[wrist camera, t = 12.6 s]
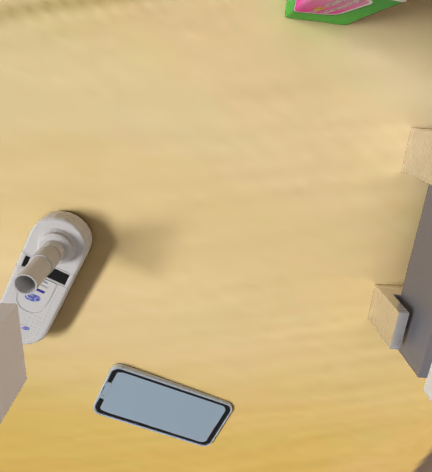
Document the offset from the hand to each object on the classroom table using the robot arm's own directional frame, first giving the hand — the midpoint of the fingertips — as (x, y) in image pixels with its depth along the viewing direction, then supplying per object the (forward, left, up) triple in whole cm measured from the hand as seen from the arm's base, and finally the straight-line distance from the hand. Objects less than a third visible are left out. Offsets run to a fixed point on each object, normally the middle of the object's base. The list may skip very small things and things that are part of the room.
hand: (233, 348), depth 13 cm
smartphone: (+28, -4, -27) cm, 39 cm away
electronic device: (+12, -16, -27) cm, 34 cm away
